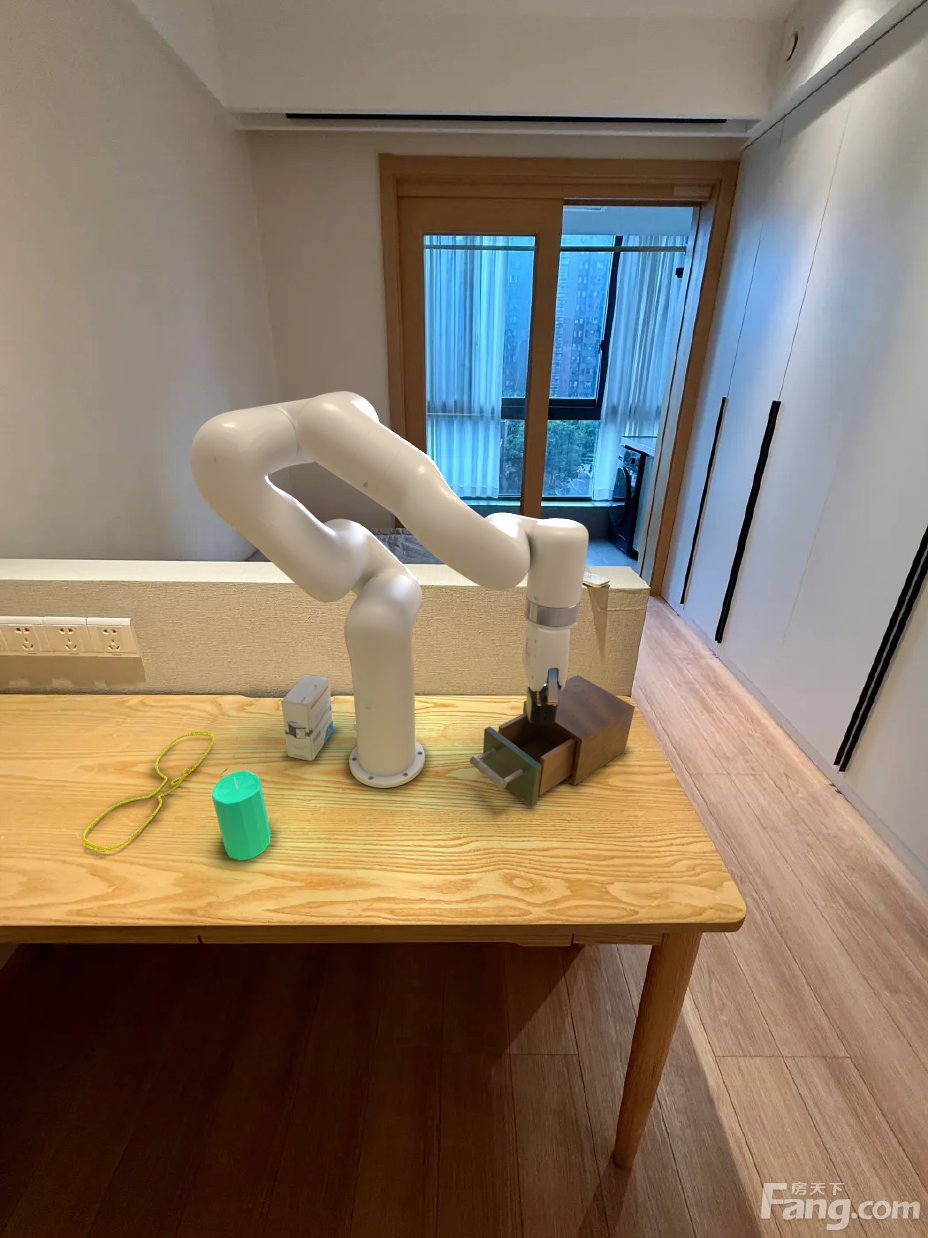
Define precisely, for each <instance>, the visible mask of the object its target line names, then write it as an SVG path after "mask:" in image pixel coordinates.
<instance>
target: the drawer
mask: <svg viewBox="0 0 928 1238" xmlns="http://www.w3.org/2000/svg"><path fill="white" fill-rule="evenodd" d="M577 743H578V741H577V740H575V739H574V738H572V737H571V736H569V735H568V734H566V733H565V732H564V731H562V730H561V729H559V728H558V727H556V726H555V725H533V723H529V719H528V715H527V712H525V713H523V712H522V713H521V714H519V715H517V716H515V717H513V718H512V719H509V720H508V721H506V722H504V723H502V724H500V725H498V730H496V729H494V728H493V727H492V726H490V725H489V726H487V727H485V728H484V729H483V745H482V746H483V748H482V753H481V754H479V755H478V756H477V755H472V756H471V757H470V758H469V761H468V763H469V764H470V765H472V766H473V768H475V769H476V770H477V771H479V772H480V773H481V775H483V776H484V777H485V778H487V779H488V780H489V781H490V782H491V783H492V784H493V785H495V787H497V788H498V789H499V790H501V791H502V790H505V788H507V789H508V790H510V791H511V792H512V793H514V795H516V796H517V797H518V798H519V799H520V800H521V801H523V802H524V803H525V804H526V805H528V806H529V808H533V807H534V806H536V805H538V798H539V797H540V796H541V795H544V794H545V793H546V792H547V791H549V790H550V789H552V788H554V787H555V786H556V785H558V784H559V783H561V782H563V781H564V780H566V779H565V778H567V777H568V776H570V775H571V774H572V773H573V767H574V761H575V755H576V749H577Z"/></svg>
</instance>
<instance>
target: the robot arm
mask: <svg viewBox="0 0 928 1238" xmlns="http://www.w3.org/2000/svg"><path fill="white" fill-rule="evenodd" d="M189 460H190V461H189V462H190V469H191V474H192V477H193V478H192V479H193V481H194V483H195V486H196V488H197V490H198V492H199V494H200V496H201V497H202V499H203V501H205V503H206V504H207V506H208V507H209V508H210V509H211V510H212V511H213V512H214V513H215V514H216V515H218V517H219V518H221V520H223V521H224V522H225V523H226V524H228V525H229V526H230V527H231V528H232V529H234V530H235V531H236V532H238V533H239V534H240V535H241V536H242V537H243V538H245V539H246V540H247V541H249V542H250V543H251V544H252V545H253V546H254V547H256V548H257V549H258V550H259V552H261V553H262V554H263V556H264V557H266V558H267V559H268V560H269V561H270V562H271V563H272V564H273V565H274V566H275V567H276V568H278V569H279V571H281V572H282V573H283V574H284V575H285V576H286V577H288V578H289V580H291V581H292V582H293V583H294V584H295V585H296V586H297V587H299V589H301V590H302V591H303V592H304V593H305V594H307V595H308V596H309V597H311V598H313V599H314V600H316V601H318V602H322V603H334V602H338V601H340V600H342V599H343V598H345V597H346V596H347V595H348V594H349V593H350V592H352V593H353V594H355V595H356V597H355V599H354V600H353V602H352V604H351V605H350V607H349V609H348V611H347V614H346V617H345V621H344V625H343V626H344V627H343V637H344V643H345V646H346V651H347V653H348V658H349V663H350V671H351V682H352V683H351V684H352V691H353V705H354V718H355V724H354V725H353V727H352V730H353V731H354V732H355V733H356V743H357V744H356V745H355V746H354V747H353V749H352V750H351V752H350V754H349V758H348V759H349V760H348V762H349V763H348V764H349V771H350V772H351V774H352V776H353V777H354V778H355V779H356V780H357V781H359V782H360V783H361V784H364V785H366V786H369V787H372V788H377V789H378V788H379V789H387V788H388V789H389V788H394V787H395V788H396V787H399V786H402V785H404V784H406V783H410V781H412V780H414V779H415V778H416V777H417V776H418V775H419V774H420V773H421V772H422V770H423V768H424V766H425V759H426V755H425V751H424V747H423V746H422V744H421V743H420V742H418V740H417V739H416V690H415V689H416V687H415V663H414V655H413V634H414V629H415V626H416V622H417V619H418V616H419V613H420V610H421V607H422V603H423V591H422V588H421V587H422V586H421V585H420V582H419V580H418V579H417V578H416V577H415V576H414V574H413V573H412V572H411V571H410V570H409V569H408V567H406V566H405V565H404V564H403V562H401V561H400V559H398V558H397V556H395V555H394V554H393V553H392V552H391V550H389V549H388V548H387V546H385V545H384V544H383V543H382V542H381V541H380V540H379V539H378V538H377V536H375V535H374V534H373V533H372V532H371V531H369V530H368V529H367V528H366V527H364V526H362V524H360V523H358V522H355V521H353V520H350V519H346V518H334V519H330V520H328V521H325V522H324V523H322V522H321V521H320V520H318V519H317V518H316V517H315V515H313V514H312V513H311V512H310V511H309V510H308V509H307V508H306V507H305V506H304V505H303V504H302V503H301V501H299V500H298V499H296V498H295V497H294V496H292V495H291V494H290V493H288V492H286V491H284V490H282V489H280V488H279V487H277V486H276V485H274V483H272V481H270V479H269V476H270V475H271V474H274V473H276V472H279V471H280V470H282V469H285V468H288V467H292V466H296V465H297V466H298V465H303V464H310V463H317V464H318V465H319V466H320V467H322V468H324V469H326V471H329V472H330V473H332V474H333V475H334V476H336V477H337V478H339V479H341V480H342V481H344V482H345V483H347V484H348V485H350V486H352V487H353V488H355V489H357V490H358V491H359V492H360V493H362V494H364V495H366V496H367V497H369V498H370V499H371V500H373V501H374V502H376V503H377V504H379V505H381V507H383V508H384V509H386V510H387V511H388V512H389V513H391V514H393V515H394V516H395V518H397V519H398V521H399V522H400V523H401V524H402V525H403V527H404V528H405V529H406V530H407V531H408V532H409V533H410V534H411V535H412V536H413V537H414V538H415V539H416V540H417V541H418V542H419V543H420V544H421V545H422V546H423V548H425V549H426V550H427V551H428V552H429V553H430V554H432V556H433V557H435V558H436V559H437V560H439V561H440V562H442V563H443V564H444V565H446V566H447V567H449V568H450V569H452V570H453V571H455V572H456V573H458V574H460V575H461V576H462V577H464V578H465V579H467V580H469V581H470V582H472V583H473V584H476V585H477V586H479V587H481V588H484V589H487V590H490V591H496V592H499V591H500V592H501V591H502V592H503V591H508V590H511V589H513V588H516V586H518V585H520V584H521V583H522V582H523V581H524V580H525V578H526V576H527V578H526V581H527V582H526V590H525V600H524V613H523V618H524V620H525V622H526V626H525V634H524V641H523V649H522V657H521V659H522V660H521V661H522V665H523V669H524V673H525V677H526V680H527V684H528V687H530V689H531V690H532V691H537V700H536V702H534V708H533V718H532V723H533V725H553V724H554V716H555V708H556V705H557V704H558V694H557V687H558V689H559V691H562V690H563V689H564V687H565V683H566V680H567V676H568V667H569V657H570V646H571V629H572V628H574V627H575V626H576V625H577V624H578V620H579V613H580V606H581V598H582V591H583V584H584V576H585V569H586V563H587V555H588V547H589V539H590V538H589V535H590V534H589V531H588V529H587V527H586V526H585V525H583V524H582V523H580V522H577V521H575V520H571V519H565V518H548V519H540V518H539V519H538V518H533V517H527V516H523V515H518V514H515V513H514V514H513V513H507V512H497V513H492V514H489V515H488V516H486V517H483V516H481V514H479V513H477V512H476V511H475V510H473V508H471V507H470V506H469V505H468V504H466V503H465V502H464V501H463V500H462V499H461V498H460V497H459V496H458V495H457V494H456V493H455V492H454V490H452V489H451V487H450V486H449V485H448V483H447V482H446V480H445V479H444V476H443V475H442V473H441V470H440V469H439V468H438V466H437V465H436V463H435V462H434V460H432V459H431V458H430V456H429V455H427V454H426V453H425V452H423V451H422V450H420V449H419V448H417V447H416V446H414V445H413V444H411V443H410V442H408V441H407V440H405V439H404V438H402V437H401V436H399V434H397V433H396V432H394V431H392V430H391V429H389V428H388V427H387V426H385V425H384V424H382V423H381V422H380V421H379V417H378V415H377V411H376V410H375V409H374V407H373V406H372V404H371V403H370V402H369V401H368V400H367V399H366V398H365V397H363V396H361V395H360V394H358V393H355V392H353V391H347V390H342V391H332V392H327V393H322V394H319V395H316V396H314V397H310V398H303V399H297V400H291V401H285V402H278V403H272V404H265V405H259V406H254V407H249V408H241V409H235V410H231V411H226V412H222V413H220V414H218V415H215V416H213V417H211V418H210V419H208V420H207V421H205V422H204V423H203V424H202V425H201V426H200V427H199V428H198V430H197V431H196V433H195V435H194V437H193V440H192V443H191V448H190V459H189ZM542 691H547V695H543V696H542Z"/></svg>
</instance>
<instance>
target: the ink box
mask: <svg viewBox="0 0 928 1238" xmlns="http://www.w3.org/2000/svg"><path fill="white" fill-rule="evenodd" d="M330 685H331V683H330V677H329V676H323V675H315V674H308V673H304V674H303V675H302V677H300V679H298V681H297V682H296V683H295V684H294V686H293V687H292V688H291V689H290V690H289V691H288V692H287V694H285V696H284V697H283V698H282V700H280V705H281V710H282V711H281V713H282V718H283V728H284V735H285V742H286V743H285V744H286V749H287V750H286V751H287V756H288V757H291V758H294V759H299V760H305V761H310V762H312V761H314V760H315V758H316V757H317V756H318V754H319V753H320V751H321V749H322V748H323V747H324V745H325V744H326V742H327V740H328V739H329V738H330V736H331V735H332V733H333V732H334V720H333V709H332V708H333V707H332V696H331V686H330Z"/></svg>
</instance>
